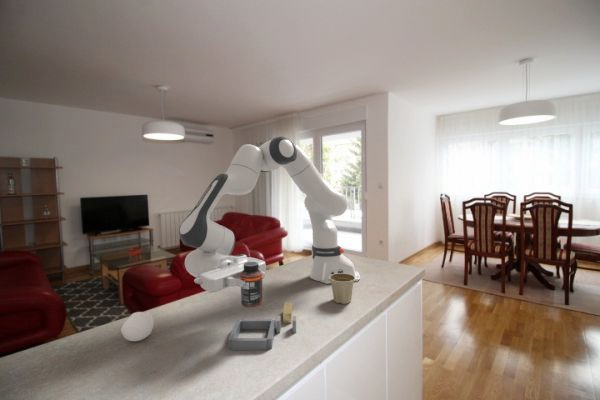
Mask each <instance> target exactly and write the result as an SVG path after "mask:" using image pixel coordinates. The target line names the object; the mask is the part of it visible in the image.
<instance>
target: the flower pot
mask: <svg viewBox="0 0 600 400" xmlns="http://www.w3.org/2000/svg"><path fill="white" fill-rule="evenodd" d="M329 279H330V282H331V283H330V284H331V290H332V295H333V301H334V302H335V303H337V304H343V305H345V304H349V303H351V302H352V295H353V287H354V284H355V281H354V280H355V276H353V275H351V274H346V273H336V274H332V275H330V276H329Z"/></svg>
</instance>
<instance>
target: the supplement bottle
mask: <svg viewBox="0 0 600 400" xmlns="http://www.w3.org/2000/svg"><path fill="white" fill-rule="evenodd" d="M258 265H259V264H258V263H257V262H247V263H244V270H243V271H242V272H241V276H240V277H241V278H242V279H245V280H246V282H245V283H246V285H245V286H243V287H240V303H241V305H242V306H243V307H245V308H257V307H259V306H261V305H262V304H263V301H264V300H263V299H264V294H263V293H264V292H263V291H264V290H263V289H264V288H263V286H264V285H263V279H262V272H261V270H259V269H258V268H259V266H258Z"/></svg>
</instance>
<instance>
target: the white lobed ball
mask: <svg viewBox="0 0 600 400" xmlns="http://www.w3.org/2000/svg"><path fill="white" fill-rule="evenodd" d="M154 324H155V322H154V315H152V313H151V312H148V311H146V312H143V311H136V312H133V313H132V314H130V317H129V318H127V319H126V320H125V321H124V322H123V324H122V327H121V328H120V332H121V334H122V337H124V339H126V340H127V341H129V342H130V341H131V342H139V341H142V340H144V339H146V338H148V337H149V335H151V333H152V330H153V329H154Z"/></svg>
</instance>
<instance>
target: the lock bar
mask: <svg viewBox="0 0 600 400" xmlns="http://www.w3.org/2000/svg"><path fill="white" fill-rule="evenodd" d="M282 316H283V317H282V320H283V321H282V323H283V324H292V319H293V302H290V301H289V302H286V301H285V302H284V306H283V313H282Z"/></svg>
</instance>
